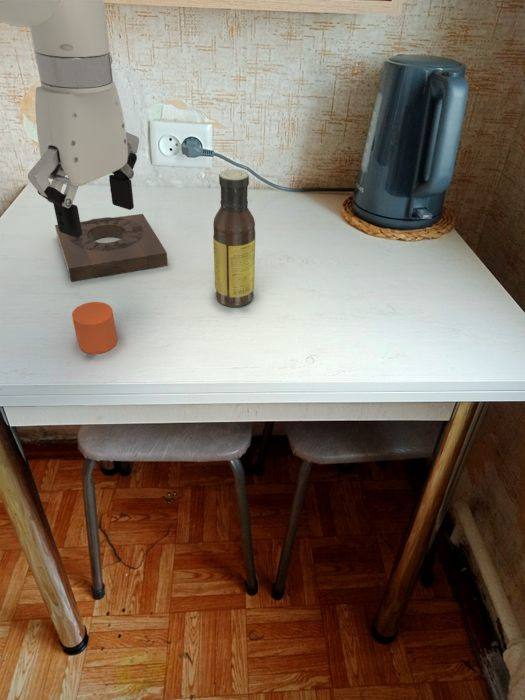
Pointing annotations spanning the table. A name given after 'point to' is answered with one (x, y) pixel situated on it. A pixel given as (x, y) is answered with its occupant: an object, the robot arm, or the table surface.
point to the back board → (111, 247)
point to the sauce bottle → (234, 241)
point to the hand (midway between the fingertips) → (98, 219)
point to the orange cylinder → (95, 327)
